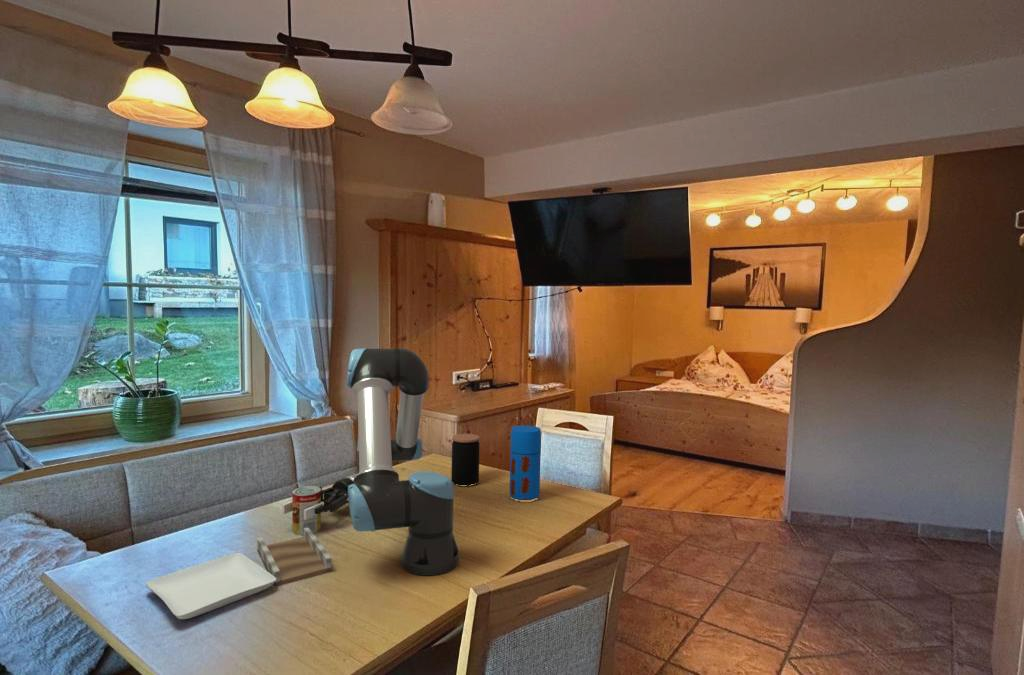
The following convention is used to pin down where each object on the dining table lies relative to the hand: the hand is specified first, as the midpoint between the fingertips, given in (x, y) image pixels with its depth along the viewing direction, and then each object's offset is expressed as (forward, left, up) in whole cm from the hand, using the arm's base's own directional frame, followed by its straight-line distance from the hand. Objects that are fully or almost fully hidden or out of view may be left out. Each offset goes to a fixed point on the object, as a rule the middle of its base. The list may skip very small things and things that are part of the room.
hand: (294, 512), depth 153 cm
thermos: (-11, -76, -7) cm, 77 cm away
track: (-16, +4, -7) cm, 18 cm away
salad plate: (-21, +23, -8) cm, 32 cm away
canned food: (+2, -4, -7) cm, 9 cm away
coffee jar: (+14, -66, -7) cm, 68 cm away
